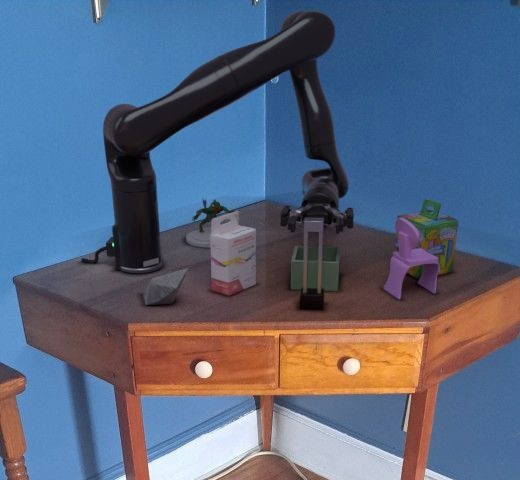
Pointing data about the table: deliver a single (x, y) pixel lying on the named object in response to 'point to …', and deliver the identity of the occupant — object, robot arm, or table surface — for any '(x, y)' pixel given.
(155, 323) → the table surface
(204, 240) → the monster figurine
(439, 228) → the chalk box
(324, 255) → the holder
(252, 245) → the ink cartridge box
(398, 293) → the toy chair
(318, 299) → the tall two-post stand
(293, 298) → the table surface
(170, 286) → the grey faceted pointed rock
